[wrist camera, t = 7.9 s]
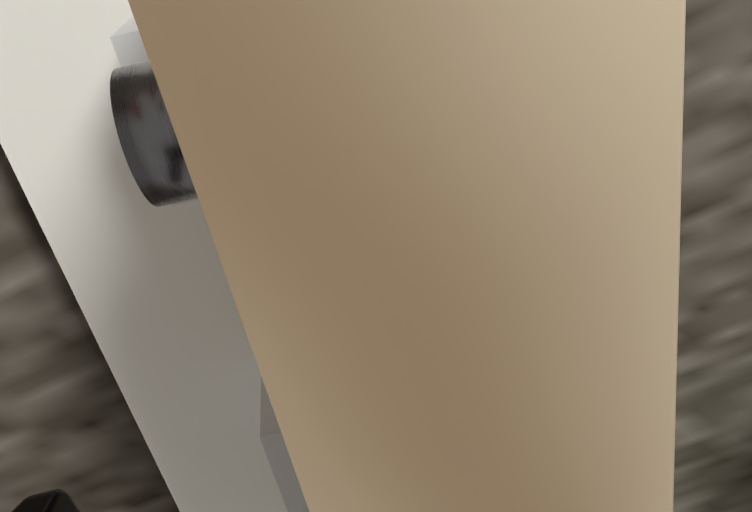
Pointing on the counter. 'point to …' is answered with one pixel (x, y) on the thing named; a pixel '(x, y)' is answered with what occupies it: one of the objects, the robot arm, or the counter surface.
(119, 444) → the counter surface
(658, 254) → the door panel
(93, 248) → the hinge base
